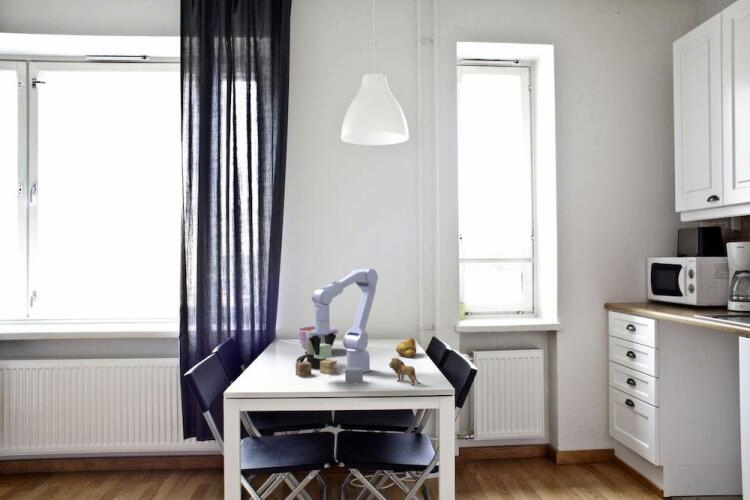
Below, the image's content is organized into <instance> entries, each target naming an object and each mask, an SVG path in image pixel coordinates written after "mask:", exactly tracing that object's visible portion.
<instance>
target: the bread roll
mask: <svg viewBox="0 0 750 500" xmlns="http://www.w3.org/2000/svg"><path fill="white" fill-rule="evenodd" d="M416 343H417V342H416V340H415V339H414V338H413V337H409V338H407V339H406V340H404V341H401V342H398V343H397V345H396V349H395V350H396V353H397V354H398V355H399V356H400V357H406V358H413V357H415V355H416V353H417V345H416Z"/></svg>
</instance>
